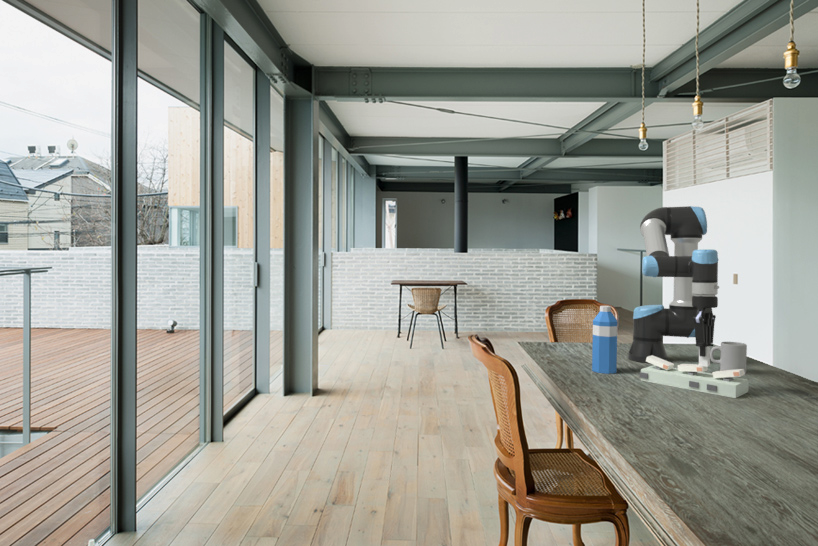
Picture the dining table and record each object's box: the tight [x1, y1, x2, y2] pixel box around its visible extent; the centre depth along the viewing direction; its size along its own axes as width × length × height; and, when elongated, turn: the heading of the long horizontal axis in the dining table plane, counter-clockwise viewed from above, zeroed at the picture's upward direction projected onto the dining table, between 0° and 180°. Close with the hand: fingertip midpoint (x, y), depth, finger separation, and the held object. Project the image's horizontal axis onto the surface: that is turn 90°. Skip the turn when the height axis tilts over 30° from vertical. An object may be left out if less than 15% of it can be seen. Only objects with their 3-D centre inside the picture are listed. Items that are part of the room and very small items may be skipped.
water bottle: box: [591, 305, 618, 375], centre depth 199 cm, size 9×9×25 cm
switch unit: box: [639, 364, 749, 399], centre depth 177 cm, size 30×12×5 cm, turn 41°
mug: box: [710, 341, 748, 375], centre depth 199 cm, size 12×8×11 cm
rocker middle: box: [677, 363, 709, 373], centre depth 177 cm, size 8×5×2 cm, turn 41°
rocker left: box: [645, 355, 675, 370], centre depth 186 cm, size 8×5×2 cm, turn 41°
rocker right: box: [711, 369, 746, 378], centre depth 169 cm, size 8×5×2 cm, turn 40°
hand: (704, 365), depth 174 cm, fingers closed, pressing on rocker middle
